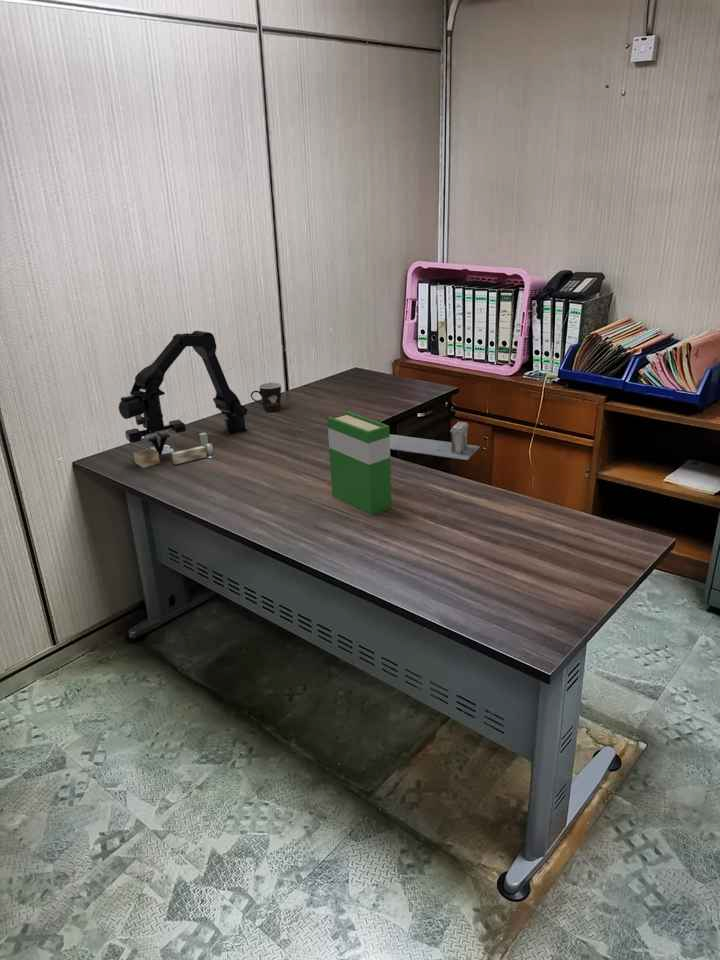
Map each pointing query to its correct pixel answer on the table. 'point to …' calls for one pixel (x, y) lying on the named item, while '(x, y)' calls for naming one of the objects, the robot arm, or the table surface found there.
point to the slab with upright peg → (437, 444)
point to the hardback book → (360, 462)
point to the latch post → (203, 438)
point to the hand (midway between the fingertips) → (159, 454)
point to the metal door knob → (209, 451)
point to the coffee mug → (270, 396)
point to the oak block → (146, 457)
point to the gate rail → (189, 455)
